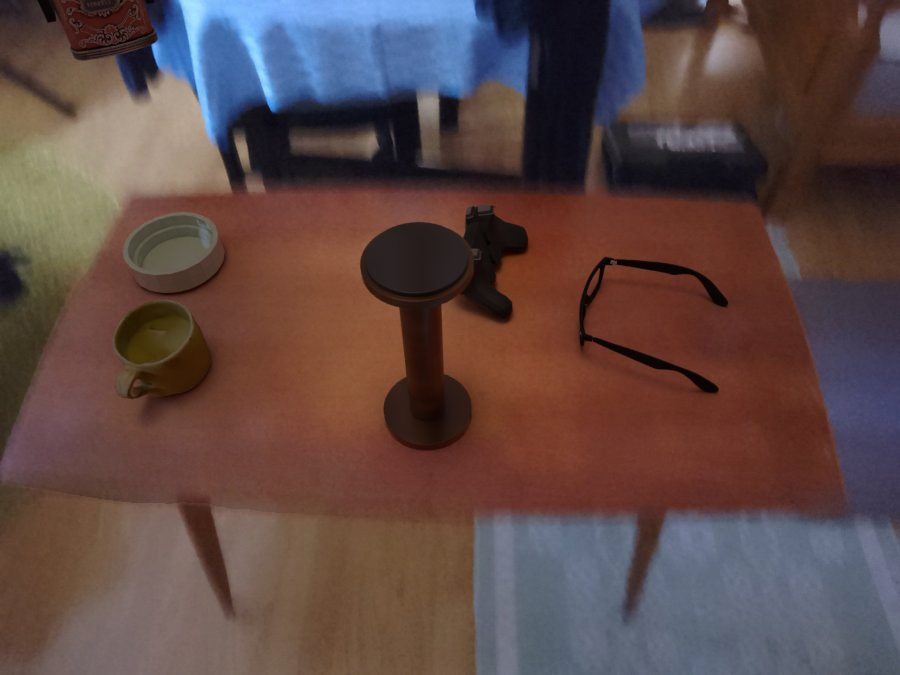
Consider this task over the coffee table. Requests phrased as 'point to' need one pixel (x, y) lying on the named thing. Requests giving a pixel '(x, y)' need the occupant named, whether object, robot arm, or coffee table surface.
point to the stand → (421, 327)
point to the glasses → (633, 354)
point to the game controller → (490, 256)
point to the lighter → (104, 27)
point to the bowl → (174, 252)
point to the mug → (160, 350)
